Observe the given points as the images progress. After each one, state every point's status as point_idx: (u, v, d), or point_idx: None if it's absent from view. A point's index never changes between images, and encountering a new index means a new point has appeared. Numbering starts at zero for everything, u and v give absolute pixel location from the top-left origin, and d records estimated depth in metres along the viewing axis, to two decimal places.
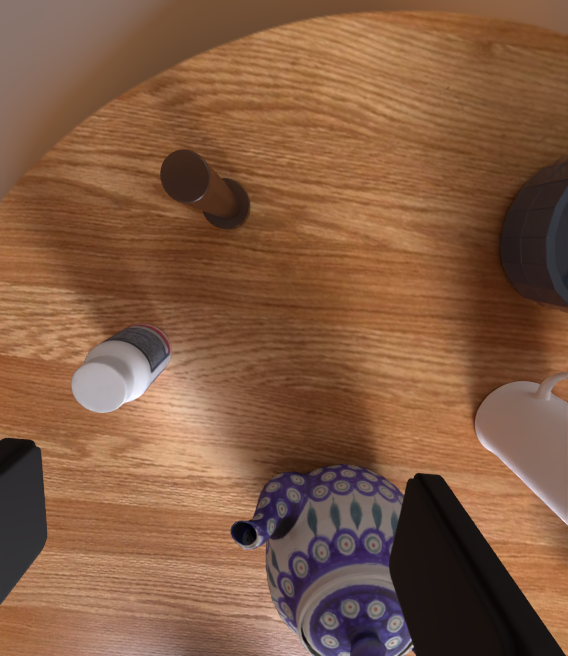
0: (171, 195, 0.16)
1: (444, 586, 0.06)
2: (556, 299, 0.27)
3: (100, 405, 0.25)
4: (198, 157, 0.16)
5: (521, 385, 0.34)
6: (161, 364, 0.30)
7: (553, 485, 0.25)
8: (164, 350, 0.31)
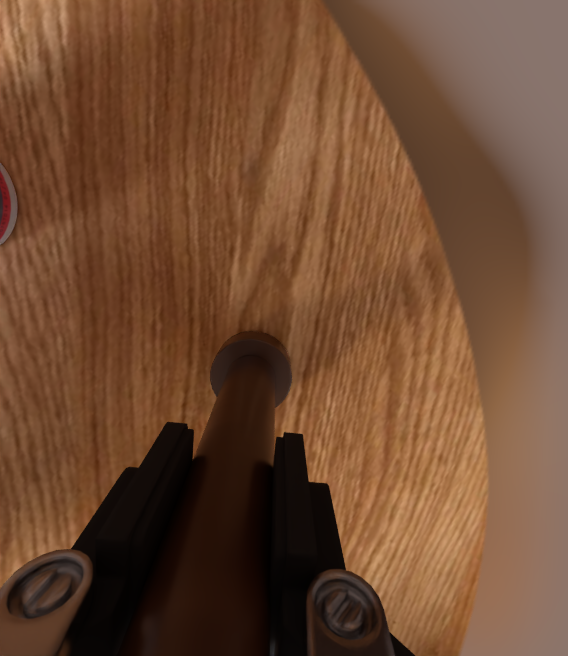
0: None
1: (272, 518, 0.08)
2: None
3: None
4: None
5: None
6: None
7: None
8: None
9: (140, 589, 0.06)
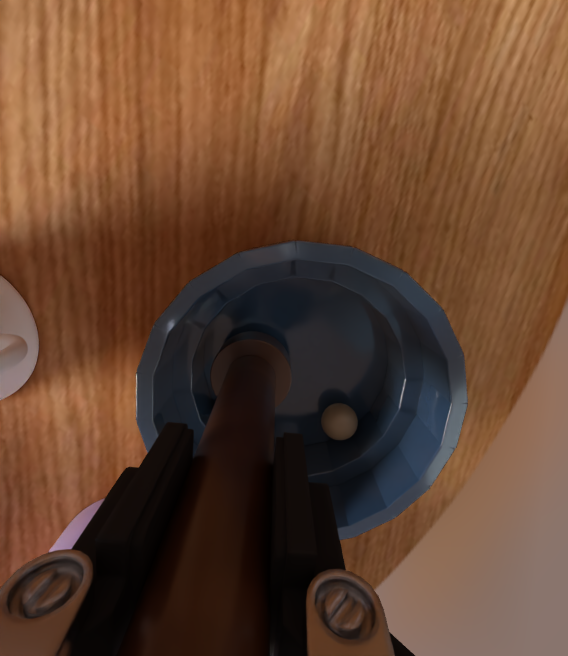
0: None
1: (272, 518, 0.08)
2: None
3: None
4: None
5: (22, 324, 0.18)
6: None
7: None
8: None
9: (140, 589, 0.06)
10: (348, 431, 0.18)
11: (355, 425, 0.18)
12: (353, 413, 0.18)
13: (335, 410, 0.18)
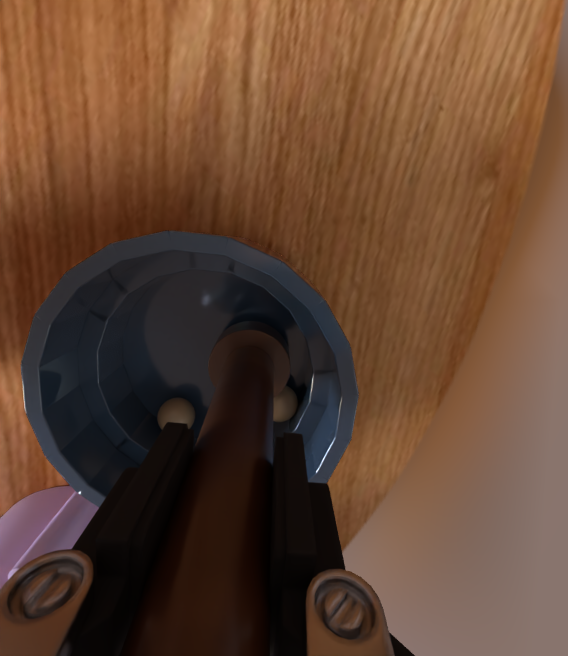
0: None
1: (272, 518, 0.08)
2: None
3: None
4: None
5: None
6: None
7: None
8: None
9: (140, 589, 0.06)
10: (278, 420, 0.18)
11: (284, 420, 0.18)
12: None
13: (293, 402, 0.18)
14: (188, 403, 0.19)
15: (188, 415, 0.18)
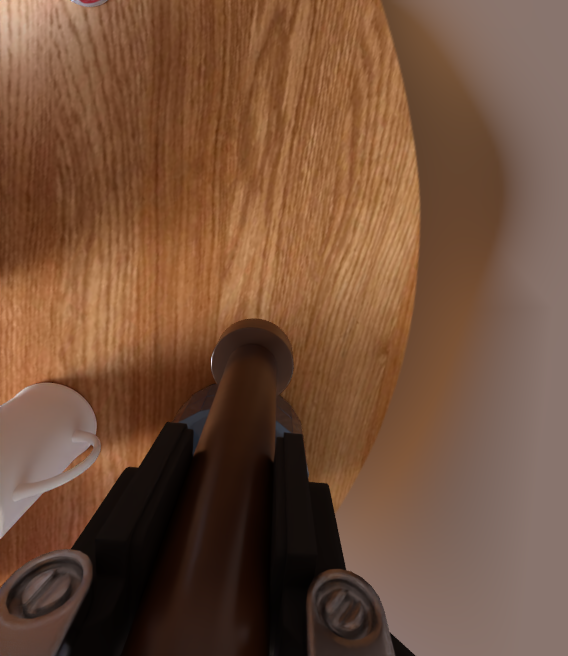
0: None
1: (272, 518, 0.08)
2: None
3: None
4: None
5: (90, 420, 0.33)
6: None
7: None
8: None
9: (140, 589, 0.06)
10: None
11: None
12: None
13: None
14: None
15: None
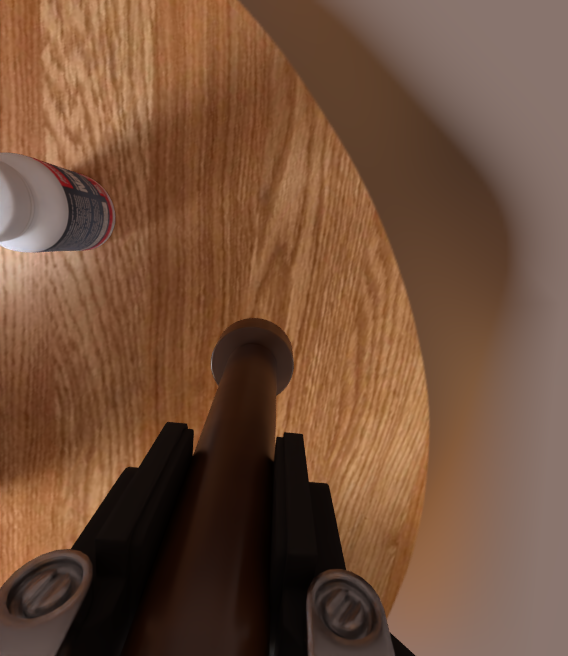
0: None
1: (272, 518, 0.08)
2: None
3: None
4: None
5: None
6: None
7: None
8: (76, 250, 0.23)
9: (140, 589, 0.06)
10: None
11: None
12: None
13: None
14: None
15: None
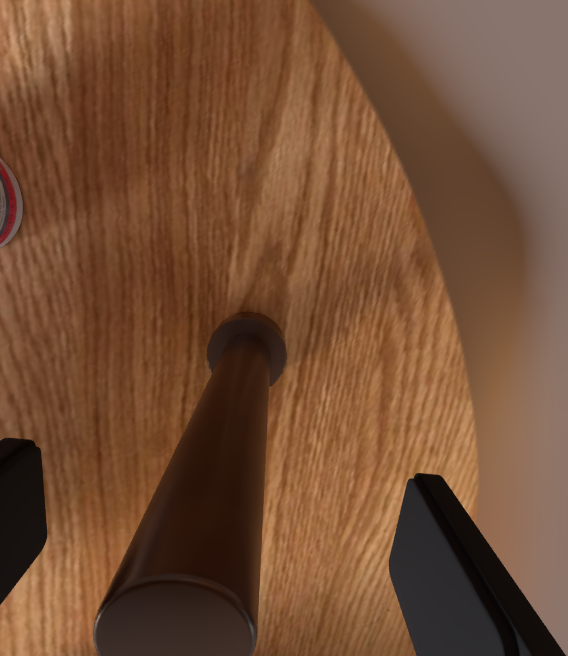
0: (106, 610, 0.05)
1: (444, 586, 0.06)
2: None
3: None
4: None
5: None
6: None
7: None
8: None
9: None
10: None
11: None
12: None
13: None
14: None
15: None
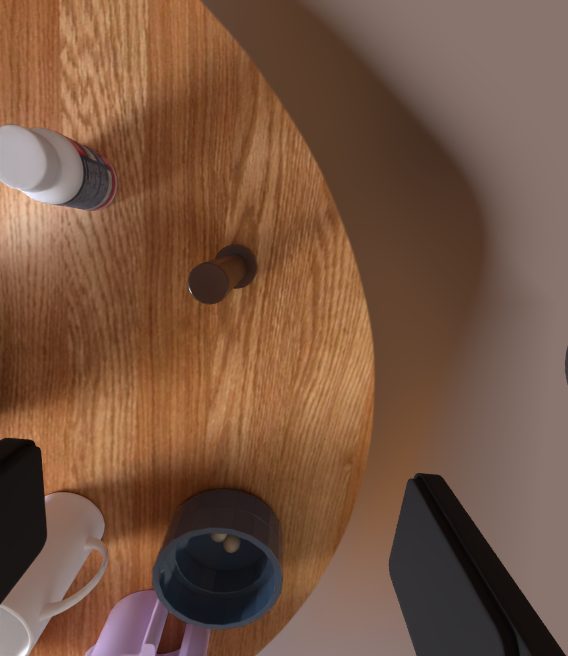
0: (192, 272, 0.19)
1: (444, 586, 0.06)
2: (167, 540, 0.35)
3: None
4: (223, 295, 0.20)
5: (99, 522, 0.39)
6: None
7: None
8: (87, 208, 0.30)
9: None
10: None
11: None
12: None
13: None
14: (229, 551, 0.38)
15: None
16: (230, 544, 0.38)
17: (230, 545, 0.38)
